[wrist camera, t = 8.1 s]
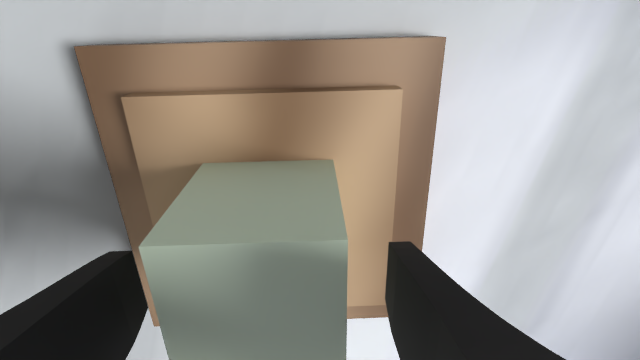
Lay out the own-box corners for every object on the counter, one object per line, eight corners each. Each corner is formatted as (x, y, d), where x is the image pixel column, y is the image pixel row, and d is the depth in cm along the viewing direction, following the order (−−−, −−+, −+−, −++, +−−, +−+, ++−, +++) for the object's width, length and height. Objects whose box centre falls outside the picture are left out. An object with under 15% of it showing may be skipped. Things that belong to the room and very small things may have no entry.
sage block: (333, 159, 12) (348, 239, 8) (333, 265, 14) (345, 381, 9) (202, 163, 12) (138, 246, 7) (220, 269, 14) (176, 388, 9)
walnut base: (433, 36, 13) (455, 37, 11) (407, 297, 17) (419, 329, 16) (94, 44, 12) (57, 47, 10) (164, 307, 17) (146, 340, 15)
